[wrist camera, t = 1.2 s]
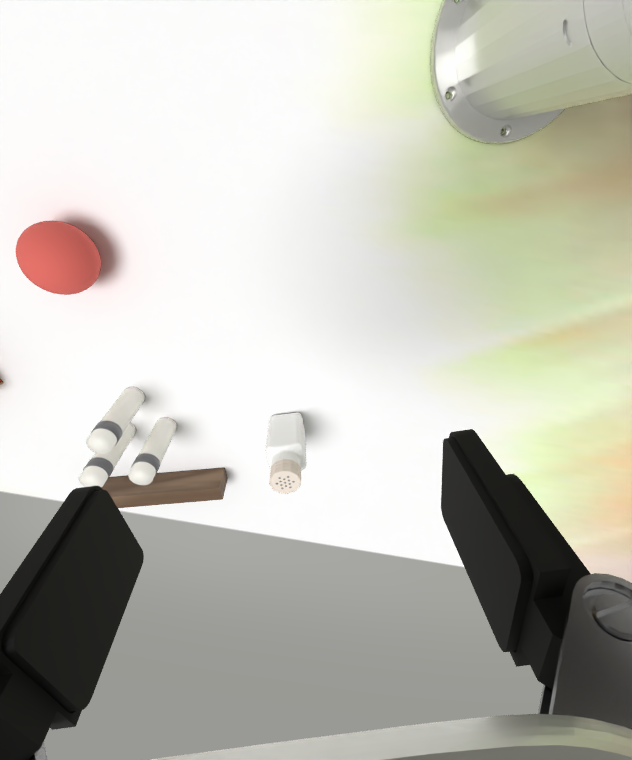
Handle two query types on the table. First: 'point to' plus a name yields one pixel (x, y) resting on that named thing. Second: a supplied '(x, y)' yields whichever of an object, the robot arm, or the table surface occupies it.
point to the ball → (58, 257)
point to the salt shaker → (286, 451)
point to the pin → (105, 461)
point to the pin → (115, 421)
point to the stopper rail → (168, 488)
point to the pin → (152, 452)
